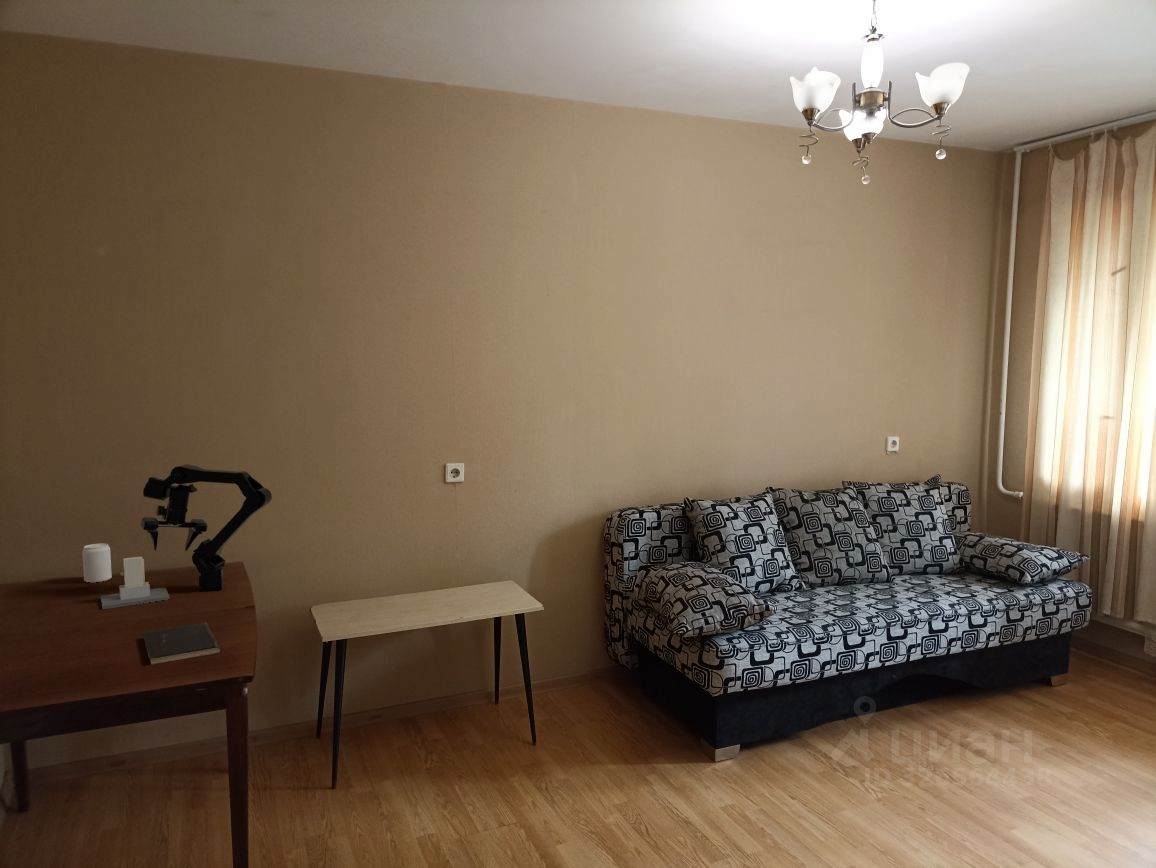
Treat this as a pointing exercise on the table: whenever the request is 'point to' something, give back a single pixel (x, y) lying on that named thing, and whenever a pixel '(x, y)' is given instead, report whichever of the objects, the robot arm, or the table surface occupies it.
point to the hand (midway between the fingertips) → (170, 550)
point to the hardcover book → (180, 643)
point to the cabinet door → (133, 572)
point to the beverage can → (96, 563)
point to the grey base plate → (134, 596)
